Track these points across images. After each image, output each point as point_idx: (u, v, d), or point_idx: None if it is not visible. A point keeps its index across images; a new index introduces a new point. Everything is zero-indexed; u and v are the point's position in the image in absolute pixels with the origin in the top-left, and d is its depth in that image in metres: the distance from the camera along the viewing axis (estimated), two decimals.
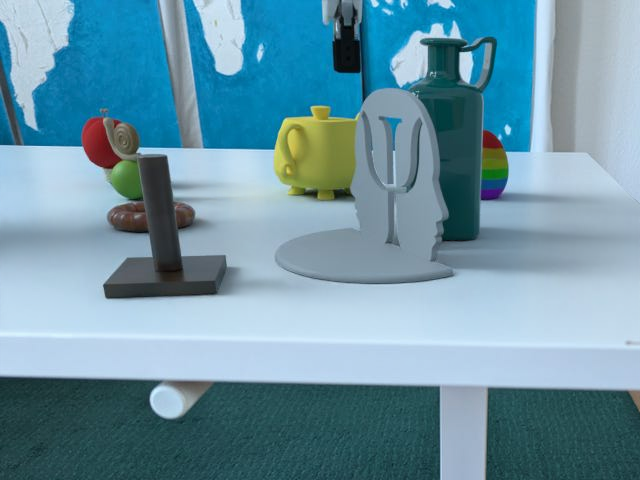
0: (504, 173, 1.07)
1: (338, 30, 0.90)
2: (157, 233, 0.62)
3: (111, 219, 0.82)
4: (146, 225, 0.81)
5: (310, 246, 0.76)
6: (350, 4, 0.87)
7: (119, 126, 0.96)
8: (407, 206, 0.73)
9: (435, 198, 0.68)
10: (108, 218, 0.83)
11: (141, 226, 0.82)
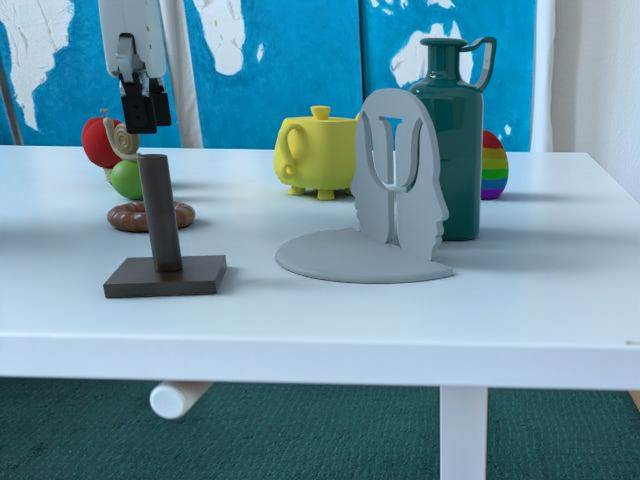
0: (504, 173, 1.07)
1: (122, 87, 0.78)
2: (157, 233, 0.62)
3: (111, 219, 0.82)
4: (146, 225, 0.81)
5: (310, 246, 0.76)
6: (126, 59, 0.75)
7: (119, 126, 0.96)
8: (407, 206, 0.73)
9: (435, 198, 0.68)
10: (108, 218, 0.83)
11: (141, 226, 0.82)
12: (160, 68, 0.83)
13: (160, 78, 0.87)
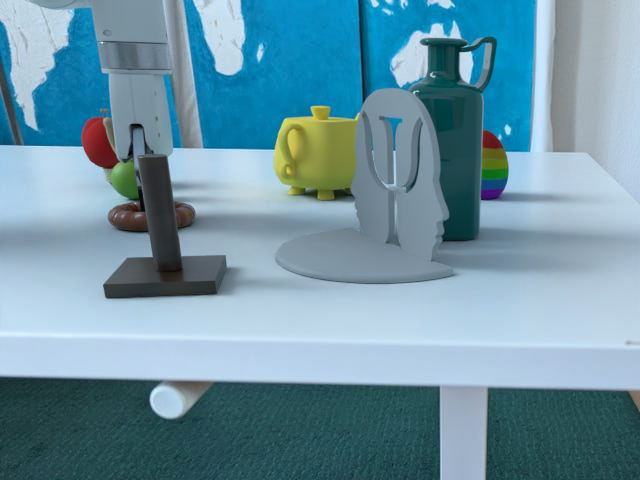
0: (504, 173, 1.07)
1: (139, 184, 0.85)
2: (157, 233, 0.62)
3: (112, 218, 0.82)
4: (147, 224, 0.82)
5: (310, 246, 0.76)
6: None
7: None
8: (407, 206, 0.73)
9: (435, 198, 0.68)
10: (108, 218, 0.83)
11: (142, 226, 0.82)
12: (167, 151, 0.86)
13: None
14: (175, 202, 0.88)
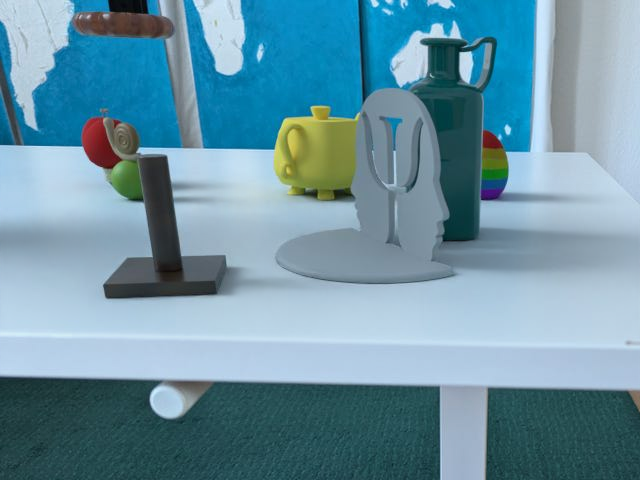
0: (504, 173, 1.07)
1: None
2: (157, 233, 0.62)
3: (76, 20, 0.71)
4: (117, 25, 0.70)
5: (311, 246, 0.76)
6: None
7: (119, 126, 0.96)
8: (407, 206, 0.73)
9: (436, 198, 0.68)
10: (73, 22, 0.72)
11: (111, 27, 0.70)
12: None
13: None
14: None
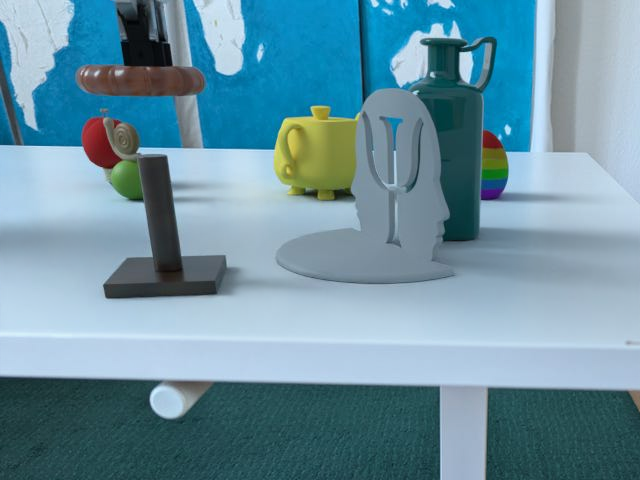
0: (504, 173, 1.07)
1: (122, 31, 0.57)
2: (157, 233, 0.62)
3: (81, 77, 0.55)
4: (133, 84, 0.54)
5: (311, 246, 0.76)
6: (129, 3, 0.54)
7: (119, 126, 0.96)
8: (408, 206, 0.73)
9: (436, 198, 0.68)
10: (77, 79, 0.56)
11: (125, 86, 0.54)
12: None
13: (160, 12, 0.61)
14: (176, 67, 0.61)
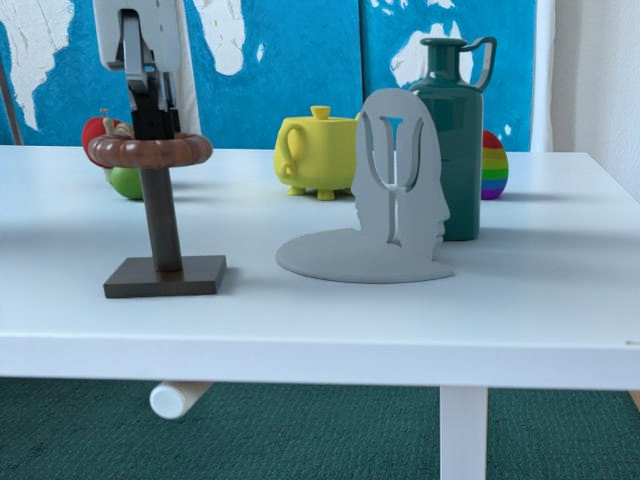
0: (504, 173, 1.07)
1: (132, 103, 0.59)
2: (157, 233, 0.62)
3: (93, 150, 0.57)
4: (143, 158, 0.56)
5: (311, 246, 0.76)
6: (140, 80, 0.56)
7: (119, 126, 0.96)
8: (408, 206, 0.73)
9: (436, 198, 0.68)
10: (89, 151, 0.58)
11: (136, 160, 0.57)
12: (173, 59, 0.61)
13: (169, 80, 0.63)
14: (184, 133, 0.63)
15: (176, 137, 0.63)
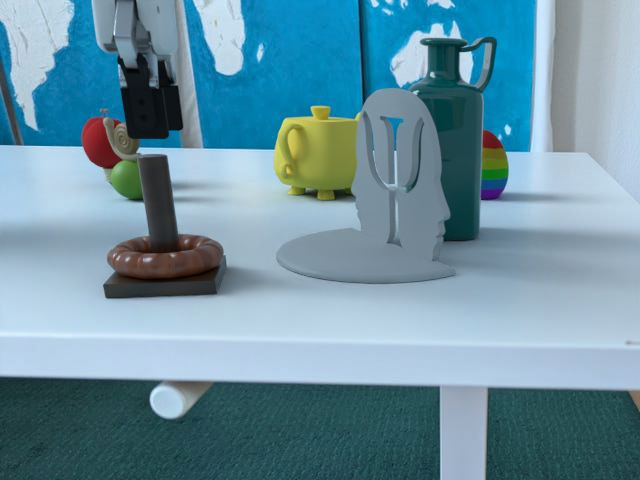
0: (504, 173, 1.07)
1: (122, 76, 0.57)
2: (157, 233, 0.62)
3: (112, 262, 0.61)
4: (159, 271, 0.60)
5: (311, 246, 0.76)
6: (128, 40, 0.53)
7: (119, 126, 0.96)
8: (408, 206, 0.73)
9: (437, 198, 0.68)
10: (108, 261, 0.62)
11: (152, 272, 0.60)
12: (170, 42, 0.61)
13: (169, 61, 0.64)
14: (197, 237, 0.67)
15: (189, 240, 0.67)
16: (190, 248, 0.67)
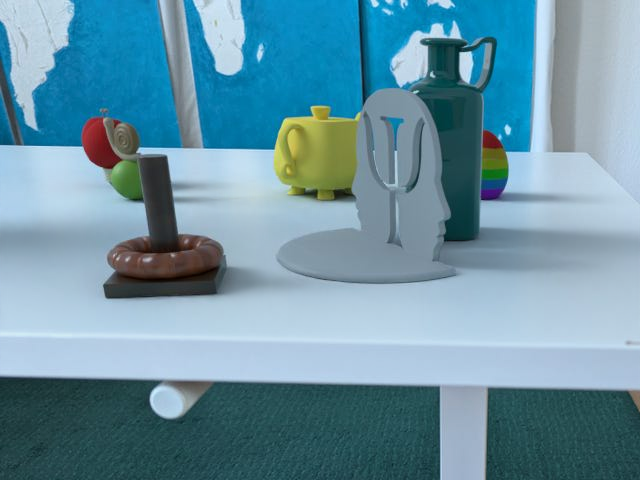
0: (504, 173, 1.07)
1: None
2: (157, 233, 0.62)
3: (112, 262, 0.61)
4: (159, 271, 0.60)
5: (312, 246, 0.76)
6: None
7: (119, 126, 0.96)
8: (409, 206, 0.73)
9: (437, 198, 0.68)
10: (108, 261, 0.62)
11: (152, 272, 0.60)
12: None
13: None
14: (197, 237, 0.67)
15: (189, 240, 0.67)
16: (190, 248, 0.67)
